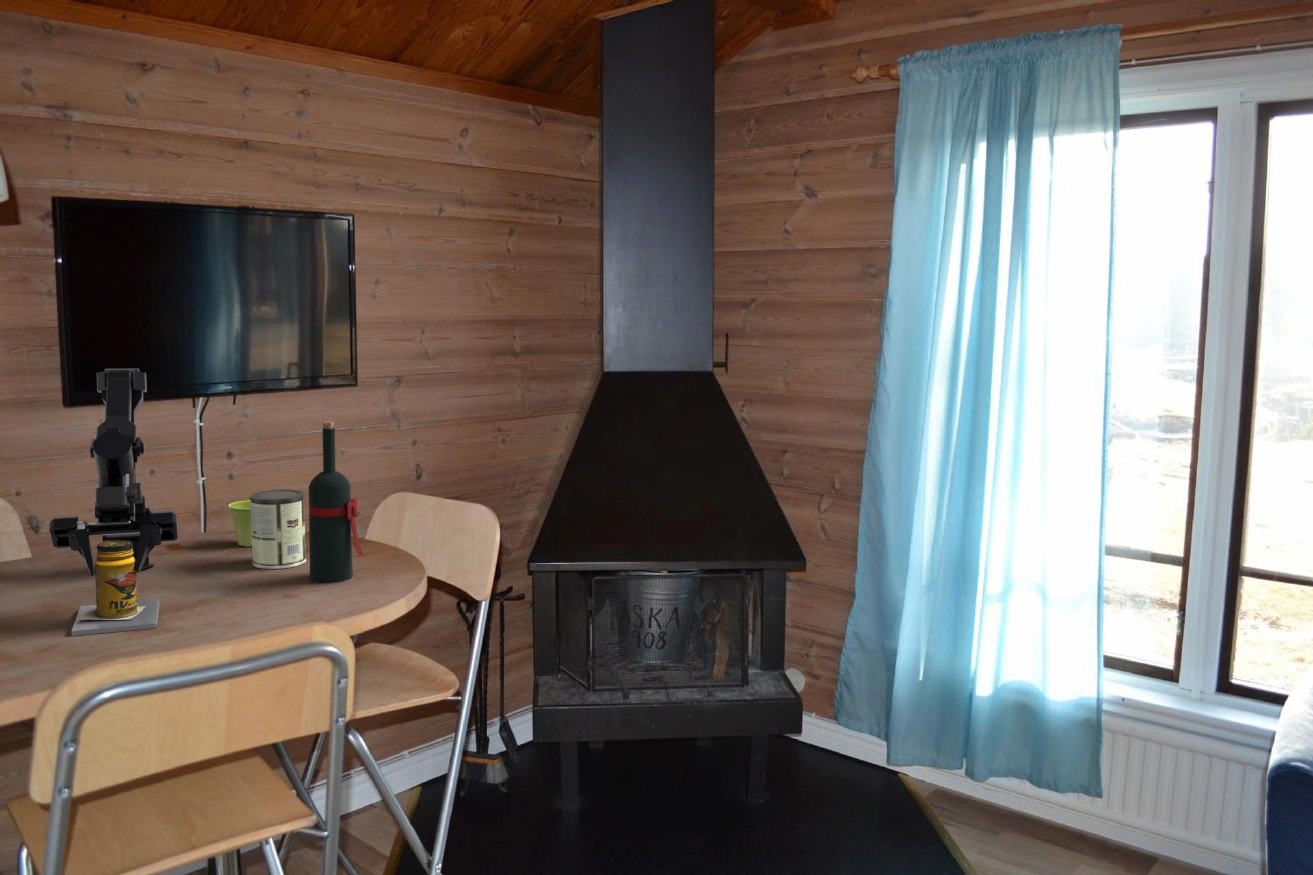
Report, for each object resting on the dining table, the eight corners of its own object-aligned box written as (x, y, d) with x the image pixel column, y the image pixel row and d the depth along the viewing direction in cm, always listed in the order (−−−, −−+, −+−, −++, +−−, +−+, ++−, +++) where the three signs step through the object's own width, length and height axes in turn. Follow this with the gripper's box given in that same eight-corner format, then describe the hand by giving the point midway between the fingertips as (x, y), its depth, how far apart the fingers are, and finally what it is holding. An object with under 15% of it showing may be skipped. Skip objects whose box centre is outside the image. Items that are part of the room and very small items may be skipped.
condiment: (132, 619, 170) (129, 547, 169) (75, 621, 169) (72, 547, 168) (146, 607, 178) (144, 537, 176) (92, 608, 176) (89, 538, 175)
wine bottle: (354, 584, 197) (351, 425, 193) (302, 581, 198) (298, 423, 194) (370, 573, 204) (368, 420, 200) (320, 570, 206) (317, 418, 202)
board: (81, 610, 178) (80, 605, 177) (159, 603, 182) (159, 599, 182) (71, 635, 165) (71, 631, 165) (156, 627, 170) (156, 623, 169)
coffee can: (269, 554, 217) (267, 487, 215) (315, 558, 215) (314, 490, 213) (241, 567, 207) (238, 497, 205) (289, 571, 205) (287, 500, 203)
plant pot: (248, 537, 232) (247, 498, 231) (285, 541, 229) (284, 501, 228) (219, 546, 223) (218, 506, 222) (257, 550, 220) (256, 510, 219)
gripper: (47, 468, 170) (42, 551, 162) (174, 463, 177) (175, 543, 169) (56, 506, 178) (51, 587, 170) (177, 500, 186) (178, 577, 177)
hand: (114, 572), depth 171 cm, fingers open, 6 cm apart
